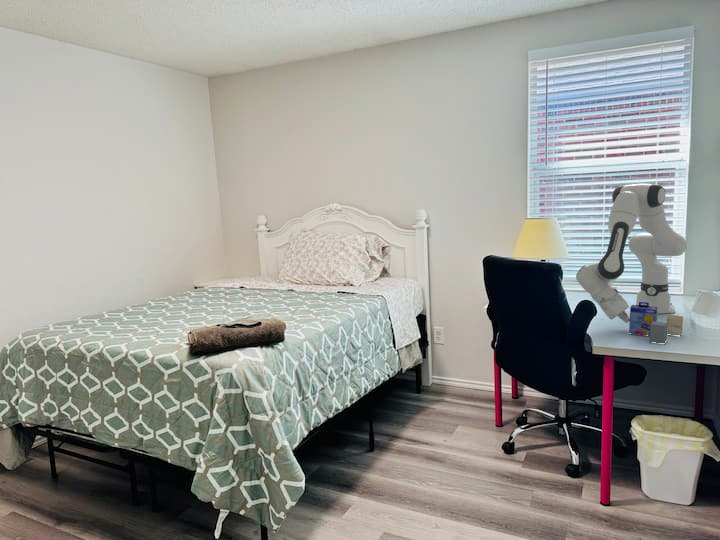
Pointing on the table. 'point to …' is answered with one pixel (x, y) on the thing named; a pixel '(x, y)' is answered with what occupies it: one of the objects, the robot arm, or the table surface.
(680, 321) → the birch block
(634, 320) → the ink cartridge box
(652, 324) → the slate block
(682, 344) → the table surface
